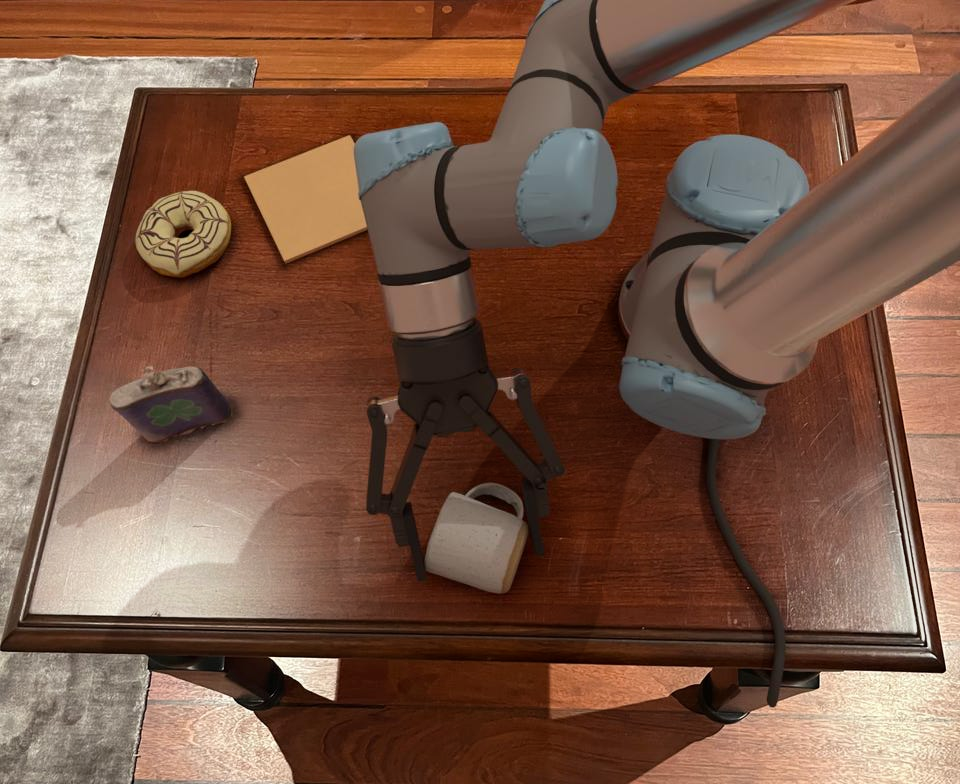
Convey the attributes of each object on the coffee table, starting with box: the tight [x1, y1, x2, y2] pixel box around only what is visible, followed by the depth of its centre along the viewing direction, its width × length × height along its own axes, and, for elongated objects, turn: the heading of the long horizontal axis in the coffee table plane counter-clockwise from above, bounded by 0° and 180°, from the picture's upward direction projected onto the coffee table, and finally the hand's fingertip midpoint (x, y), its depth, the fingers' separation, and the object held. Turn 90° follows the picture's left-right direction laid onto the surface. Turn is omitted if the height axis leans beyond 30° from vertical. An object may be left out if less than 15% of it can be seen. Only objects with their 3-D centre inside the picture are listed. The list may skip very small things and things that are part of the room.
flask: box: [108, 365, 234, 443], centre depth 79 cm, size 9×3×11 cm, turn 109°
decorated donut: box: [135, 190, 232, 278], centre depth 92 cm, size 10×11×4 cm
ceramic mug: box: [424, 482, 530, 595], centre depth 74 cm, size 11×8×8 cm
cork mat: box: [243, 134, 368, 265], centre depth 95 cm, size 14×14×1 cm
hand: (479, 560), depth 72 cm, fingers closed on ceramic mug, 10 cm apart
